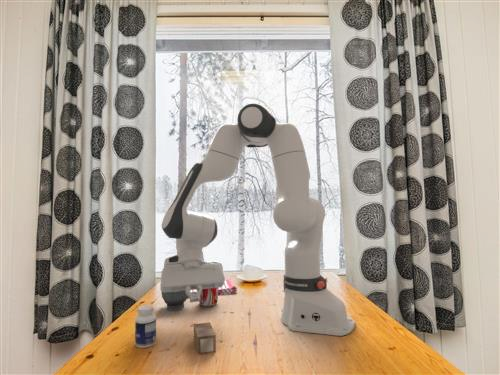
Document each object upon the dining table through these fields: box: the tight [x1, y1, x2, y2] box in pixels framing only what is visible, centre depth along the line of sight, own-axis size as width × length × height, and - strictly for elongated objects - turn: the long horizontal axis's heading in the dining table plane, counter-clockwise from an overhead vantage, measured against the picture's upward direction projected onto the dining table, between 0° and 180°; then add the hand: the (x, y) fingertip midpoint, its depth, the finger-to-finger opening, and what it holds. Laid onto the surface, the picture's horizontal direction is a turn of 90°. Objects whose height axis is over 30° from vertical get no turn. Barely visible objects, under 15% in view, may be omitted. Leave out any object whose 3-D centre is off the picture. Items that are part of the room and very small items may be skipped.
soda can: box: [198, 288, 219, 307], centre depth 120 cm, size 7×7×12 cm
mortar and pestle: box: [160, 290, 189, 311], centre depth 117 cm, size 11×9×12 cm
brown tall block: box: [193, 322, 217, 356], centre depth 85 cm, size 4×4×9 cm
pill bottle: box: [134, 304, 157, 349], centre depth 87 cm, size 5×5×10 cm
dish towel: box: [187, 279, 238, 299], centre depth 139 cm, size 17×23×4 cm
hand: (195, 300), depth 98 cm, fingers closed
